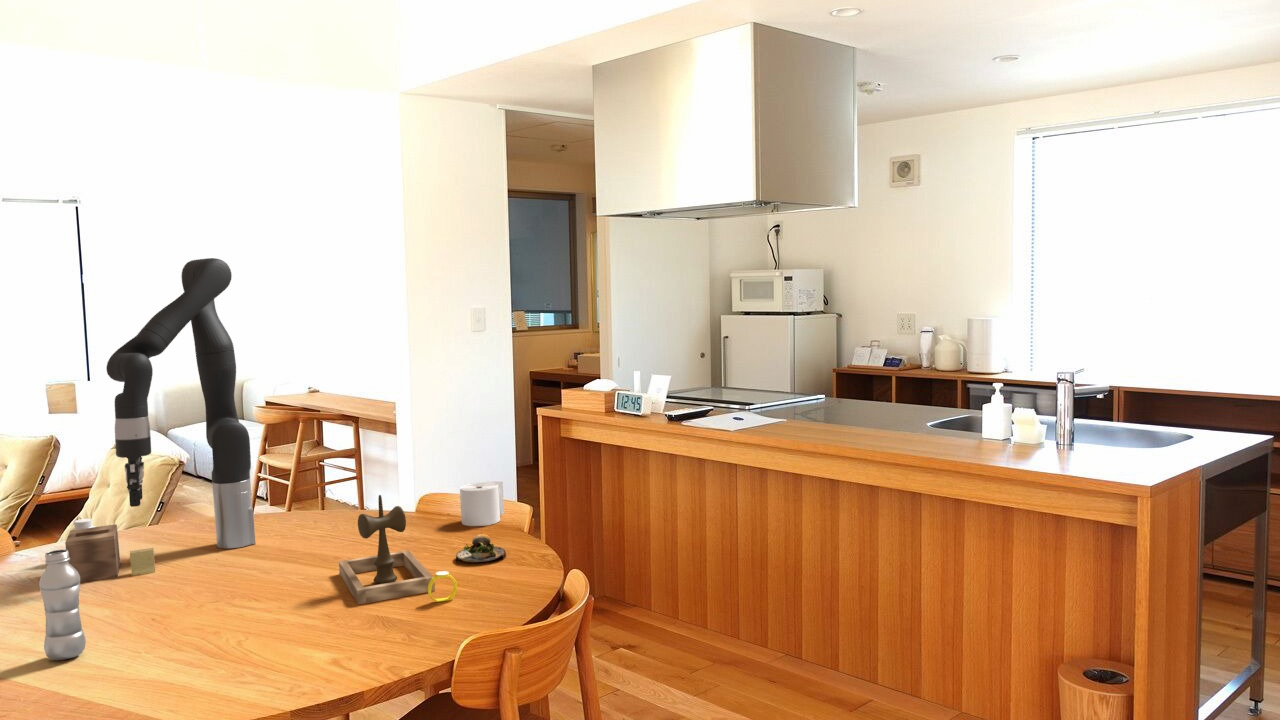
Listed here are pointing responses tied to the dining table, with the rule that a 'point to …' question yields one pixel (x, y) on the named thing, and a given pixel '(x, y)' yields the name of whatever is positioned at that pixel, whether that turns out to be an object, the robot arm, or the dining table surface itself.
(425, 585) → the wooden frame
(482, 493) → the toilet tissue
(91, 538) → the walnut tissue box
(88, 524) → the supplement bottle
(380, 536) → the kendama
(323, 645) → the dining table surface
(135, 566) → the yellow wooden block
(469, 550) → the burger
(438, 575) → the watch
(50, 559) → the plastic bottle
